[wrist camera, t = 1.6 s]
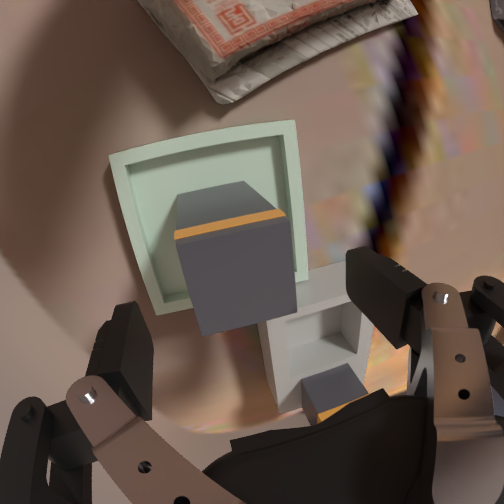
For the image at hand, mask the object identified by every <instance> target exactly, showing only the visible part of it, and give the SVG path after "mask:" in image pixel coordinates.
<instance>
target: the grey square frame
mask: <svg viewBox="0 0 504 504" xmlns="http://www.w3.org/2000/svg"><path fill="white" fill-rule="evenodd" d="M308 278H309V280H305V281H301V282H297V283H296V297H297V313H293V314H290V315H286V316H283V317H279V318H275V319H272V320H268V321H264V322H260V323H257V325H258V331H259V336H260V342H261V348H262V354H263V360H264V366H265V372H266V378H267V383H268V385H269V388H270V391H271V393H272V396H273V398H274V401H275V404H276V406H277V409H278V411H279V414H282V413H285V412H289V411H292V410H295V409H298V408H301V407H302V408H303V410H304V413H305V415H306V417H307V419H308V421H309V423H310V425H311V426H314V425H317V424H319V423H320V422H322V421H323V420H325V419H327V418H328V417H330V416H331V415H333V414H334V413H336V412H337V411H339V410H340V409H341V408H343V407H344V406H346V405H347V404H349V403H350V402H353V401H355V400H357V399H360V398H362V397H364V396H367V395H369V393H368V392H367V390H366V389H365V387H364V386H363V383H364V378H365V373H366V368H367V363H368V357H369V351H370V345H371V339H372V332H373V323H372V322H371V321H370V320H369V319H368V318H367V317H366V316H365V315H364V314H363V313H362V312H361V311H360V310H359V309H358V308H357V306H356V305H355V304H354V303H353V302H352V301H351V300H350V299H349V297H348V295H347V291H346V260H345V261H342V262H338V263H334V264H330V265H327V266H323V267H319V268H315V269H311V270H308Z"/></svg>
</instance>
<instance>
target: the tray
mask: <svg viewBox="0 0 504 504" xmlns="http://www.w3.org/2000/svg"><path fill="white" fill-rule="evenodd" d="M109 160H110V164H111V169H112V173H113V177H114V182H115V186H116V190H117V194H118V198H119V202H120V205H121V209H122V213H123V216H124V220H125V223H126V227H127V230H128V234H129V237H130V240H131V244H132V247H133V250H134V253H135V257H136V260H137V263H138V266H139V269H140V272H141V275H142V278H143V281H144V283H145V286H146V289H147V292H148V295H149V297H150V300H151V303H152V305H153V308H154V311H155V313H156V316H158V315H163V314H167V313H172V312H177V311H181V310H186V309H190V308H193V306H192V302H191V299H190V295H189V292H188V289H187V285H186V282H185V278H184V275H183V271H182V267H181V264H180V260H179V256H178V252H177V249H176V243H175V240H174V231H176V219H177V196H178V194H181V193H186V192H190V191H195V190H199V189H204V188H209V187H214V186H219V185H224V184H229V183H234V182H239V181H245V182H246V183H247V184H248V185H250V186H251V187H252V188H253V189H254V190H255V191H257V192H258V193H259V194H260V195H261V196H262V197H264V198H265V199H266V200H267V201H268V202H269V203H270V204H272V205H273V206H274V207H275V208H276V209H280V210H281V211H282V212H284V213H285V214H286V218H288V219H289V220H290V224H291V235H292V246H293V258H294V270H295V283H297V282H301V281H305V280H309V278H308V260H307V243H306V229H305V216H304V203H303V192H302V181H301V171H300V161H299V151H298V142H297V134H296V126H295V120H282V121H273V122H265V123H257V124H249V125H242V126H236V127H229V128H223V129H217V130H212V131H206V132H201V133H196V134H191V135H186V136H181V137H176V138H172V139H167V140H163V141H159V142H155V143H151V144H147V145H143V146H139V147H135V148H131V149H128V150H124V151H120V152H117V153H114V154H111V155H109Z"/></svg>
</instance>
